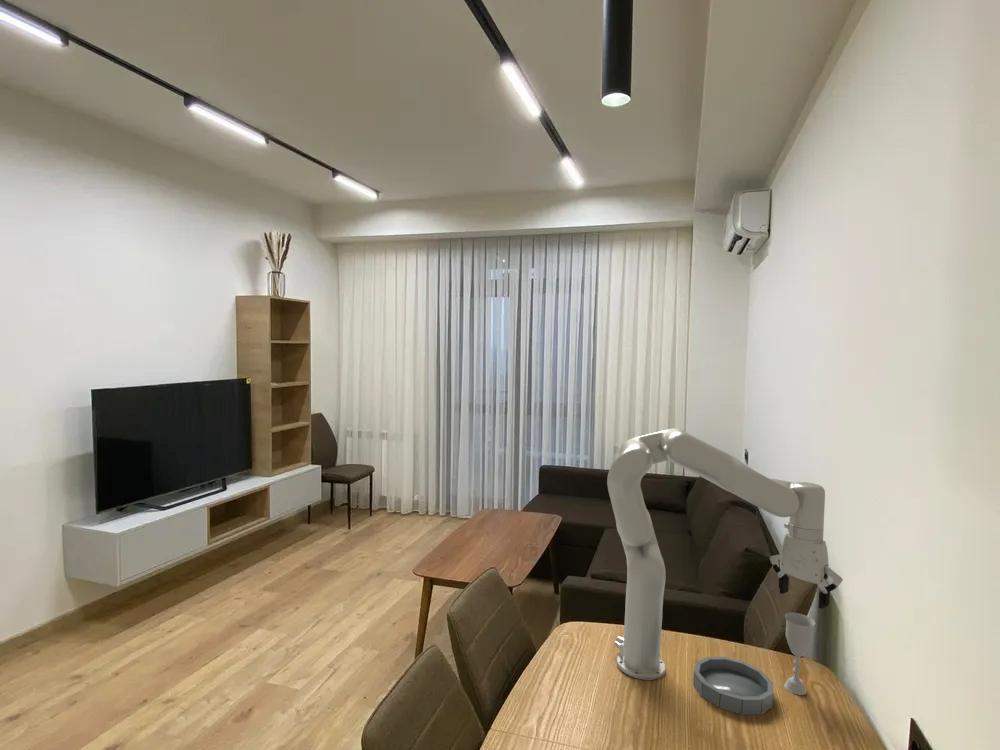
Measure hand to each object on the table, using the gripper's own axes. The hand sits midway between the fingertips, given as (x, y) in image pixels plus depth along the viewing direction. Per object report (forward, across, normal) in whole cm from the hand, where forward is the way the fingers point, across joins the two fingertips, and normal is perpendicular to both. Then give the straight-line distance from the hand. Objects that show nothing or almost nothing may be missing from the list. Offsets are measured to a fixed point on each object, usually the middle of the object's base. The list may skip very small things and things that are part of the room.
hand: (803, 599), depth 137 cm
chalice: (+23, -1, -1) cm, 23 cm away
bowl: (+23, -9, -16) cm, 29 cm away
